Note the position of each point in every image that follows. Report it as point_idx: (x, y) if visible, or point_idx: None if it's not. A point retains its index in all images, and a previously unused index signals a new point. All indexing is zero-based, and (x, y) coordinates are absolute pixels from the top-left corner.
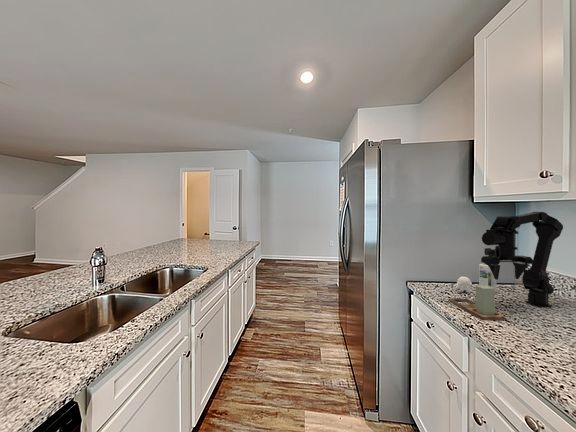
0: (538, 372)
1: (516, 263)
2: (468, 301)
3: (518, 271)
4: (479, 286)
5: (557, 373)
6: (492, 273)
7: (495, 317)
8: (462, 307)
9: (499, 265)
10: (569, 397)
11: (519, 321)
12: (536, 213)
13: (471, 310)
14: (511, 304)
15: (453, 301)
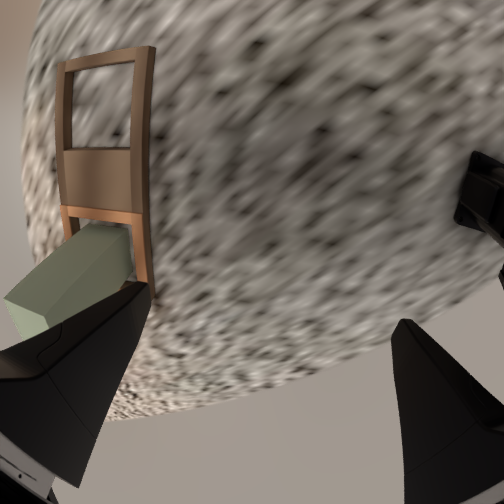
0: None
1: (482, 486)
2: (137, 78)
3: (416, 420)
4: (15, 317)
5: (112, 413)
6: (81, 312)
7: None
8: (60, 173)
9: (69, 482)
10: None
11: (197, 316)
12: None
13: (65, 229)
14: (375, 149)
15: (56, 104)
